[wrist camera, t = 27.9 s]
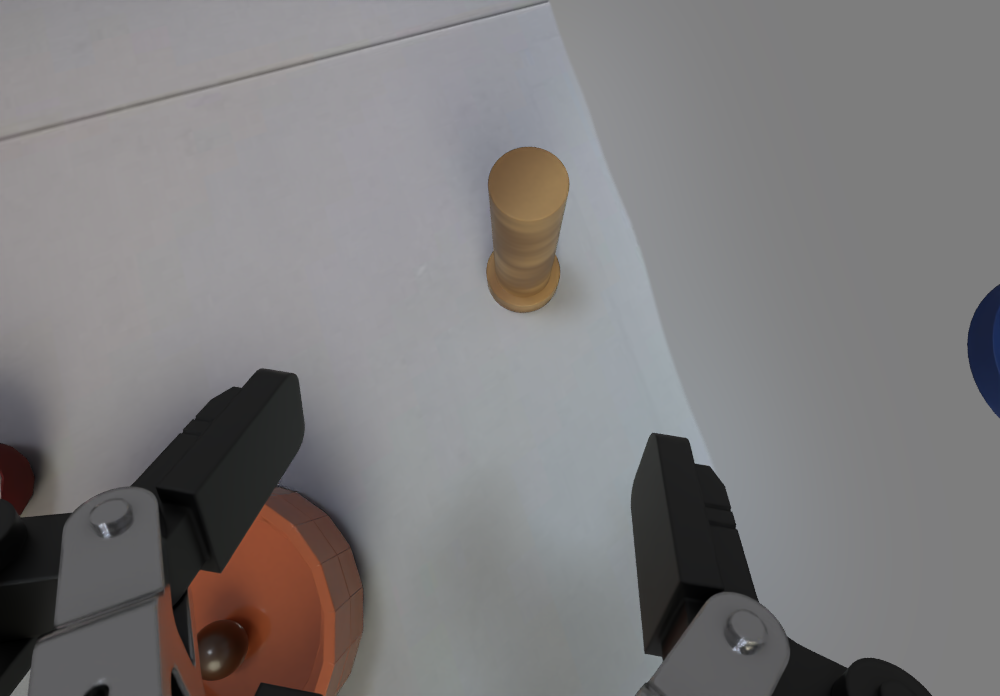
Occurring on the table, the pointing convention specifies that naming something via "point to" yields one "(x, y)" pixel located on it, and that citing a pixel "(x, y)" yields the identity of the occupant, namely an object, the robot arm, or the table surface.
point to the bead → (221, 649)
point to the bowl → (287, 601)
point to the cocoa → (15, 478)
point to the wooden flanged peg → (525, 227)
